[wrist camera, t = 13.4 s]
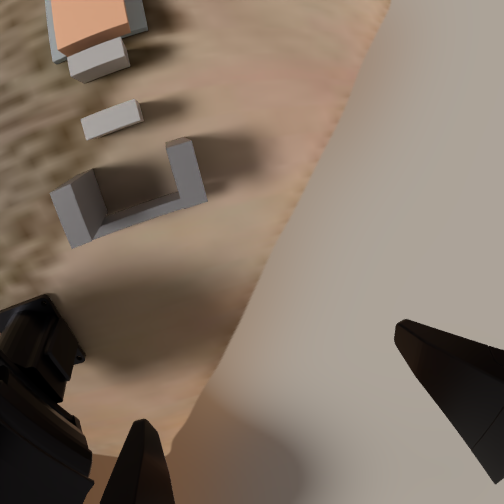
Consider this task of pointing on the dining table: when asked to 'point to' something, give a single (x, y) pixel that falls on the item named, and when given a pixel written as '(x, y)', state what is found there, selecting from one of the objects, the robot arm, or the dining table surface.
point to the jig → (85, 184)
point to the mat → (136, 26)
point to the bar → (87, 23)
